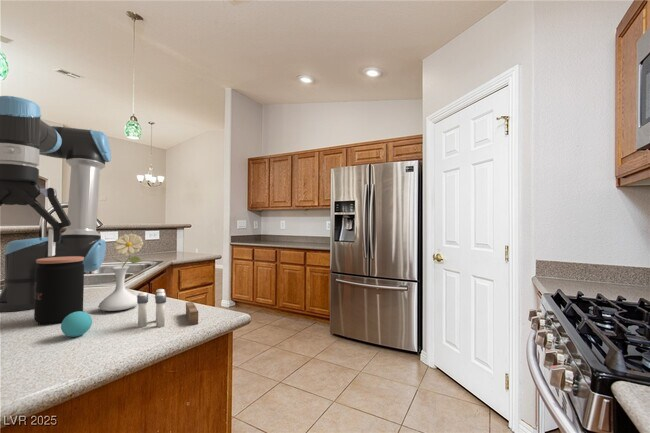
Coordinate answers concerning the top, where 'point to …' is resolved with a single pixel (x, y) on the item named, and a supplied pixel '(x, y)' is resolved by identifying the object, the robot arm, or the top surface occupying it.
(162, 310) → the right back pin
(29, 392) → the top surface
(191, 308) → the back wall
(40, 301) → the coffee jar
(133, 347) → the top surface
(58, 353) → the top surface
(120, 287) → the flower in vase
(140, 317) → the front pin
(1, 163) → the robot arm
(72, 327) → the ball
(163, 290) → the left back pin
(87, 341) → the top surface
